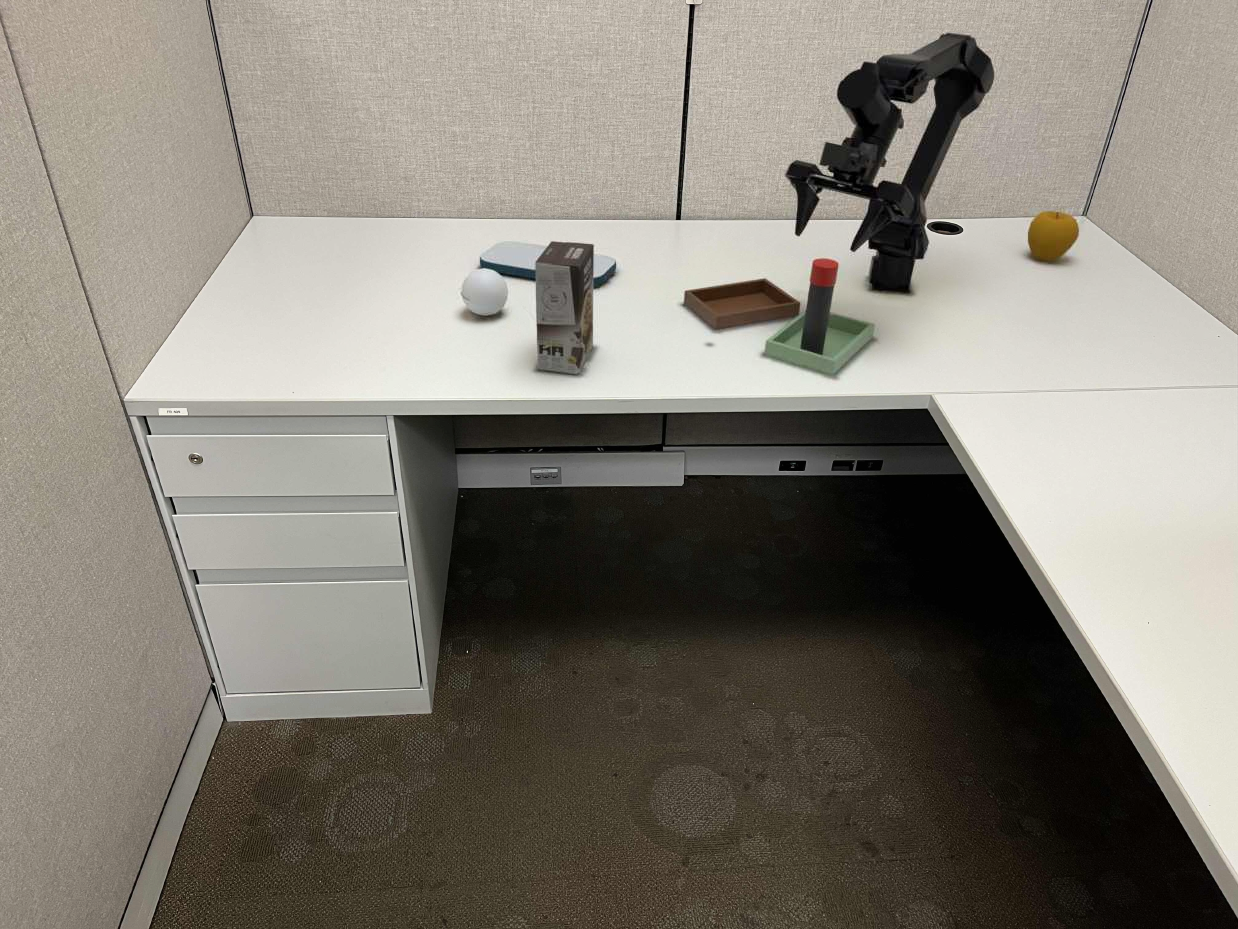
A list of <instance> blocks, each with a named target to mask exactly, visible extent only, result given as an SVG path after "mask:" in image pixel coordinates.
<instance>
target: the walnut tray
mask: <svg viewBox="0 0 1238 929" xmlns="http://www.w3.org/2000/svg"><path fill="white" fill-rule="evenodd" d="M801 303H802V302H801V301H800V300H798V299H796V298H795V297H793V296H792V295H790V294H789V293H787V292H786V291H785V290H783V289H782V288H780V287H779V286H778V285H776V284H774V283H773V282H772V281H770V280H769V279H767V278H765V277H763V278H757V279H752V280H745V281H738V282H732V283H726V284H719V285H718V284H717V285H712V286H707V287H705V286H704V287H701V288H700V287H699V288H694V289H693V288H691V289H688V290H684V293H683V306H684V307H687V308H688V309H689V310H691V311H692V312H693V313H694V314H696V315H697V316H698V317H699V318H700V319H701V320H702V321H704V323H706V324H707V325H708V326H709V327H710V328H712V329H713V330H714V331H718V330H719V331H720V330H724V329H730V328H735V327H736V328H737V327H742V326H747V325H753V324H759V323H764V322H770V321H776V320H781V319H788V318H793V317H794V318H795V317H797V316H798V315H800V310H801V305H802V304H801Z"/></svg>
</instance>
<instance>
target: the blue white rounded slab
mask: <svg viewBox="0 0 1238 929" xmlns="http://www.w3.org/2000/svg"><path fill="white" fill-rule="evenodd" d="M547 246H548V245H541V244H534V243H526V242H522V241H521V242H520V241H501V242H498V243H496V244H494V245H492V247H490V248H488V249H487V250H486V251H484V252H483V253H482V254H480V256H479V266H480V267H481V269H482V268H486V269H490V270H494V271H496V272H497V273H498V274H505V275H511V276H519V277H524V278H530V279H534V280H536V276H535V262H536V261H537V259H538V258H539V257H540V256H541V254H542V253H543V252H544V250H545V249H546V248H547ZM616 270H617V261H616V259H615V258H613V257H611V256H607V255H603V254H597V253H594V268H593V287H598V286H600V285H601V286H602V285H603V284H604V283H605V282H606V281H607V280H608V279H609V278H610V277H611V276H612V275H613V274H614V273H615V272H616Z"/></svg>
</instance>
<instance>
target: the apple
mask: <svg viewBox="0 0 1238 929" xmlns="http://www.w3.org/2000/svg"><path fill="white" fill-rule="evenodd" d="M1079 234H1080V228H1079V223H1078V221H1077V219H1076V218H1075V217H1074V216H1072V215H1071V214H1067V213H1065V212H1062V211H1061V212H1060V211H1054V210H1044V211H1042V212H1040V213H1038V214H1037V215H1036V216H1035V217H1033V219H1032V220H1031V222H1030V224H1029V227H1028V231H1027V243H1028V247H1029V251H1030V254H1031V255H1032V257H1033V258H1034V259H1036V260H1039V261H1042V262H1047V263H1051V262H1055V261H1057V260H1059V259H1060V258H1062V257H1063V256H1064V255H1065V254H1066V253H1067V252H1068V251H1069V250H1070V249H1071V248H1072V247H1073V246H1074V244H1075V243H1076V241H1077V240H1078V237H1079Z"/></svg>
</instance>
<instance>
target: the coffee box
mask: <svg viewBox="0 0 1238 929" xmlns="http://www.w3.org/2000/svg"><path fill="white" fill-rule="evenodd" d="M546 246H547V248H546V249H545V250H544V252H543V253H542V254H541V256H540V257H539V258H538V259H537V261H536V262H535V276H536V279H535V312H536V313H535V314H536V315H535V316H536V317H535V318H536V320H535V321H536V353H537V354H536V355H537V358H536V359H537V361H536V362H537V369H538V370H539V371H550V372H555V373H557V372H558V373H563V374H572V375H580V373H581V371H582V369H583V367H584V365H585V364H586V362H587V360H588V358H589V356H590V354H591V352H592V350H593V348H594V286H593V268H594V254H595V250H594V248H595V244H593V243H583V242H571V241H565V242H564V241H555V240H551V241H550V243H549V244H548V245H546Z"/></svg>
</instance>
